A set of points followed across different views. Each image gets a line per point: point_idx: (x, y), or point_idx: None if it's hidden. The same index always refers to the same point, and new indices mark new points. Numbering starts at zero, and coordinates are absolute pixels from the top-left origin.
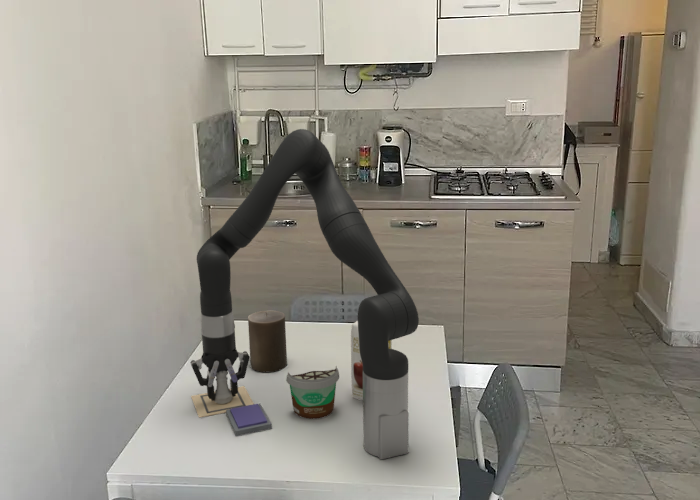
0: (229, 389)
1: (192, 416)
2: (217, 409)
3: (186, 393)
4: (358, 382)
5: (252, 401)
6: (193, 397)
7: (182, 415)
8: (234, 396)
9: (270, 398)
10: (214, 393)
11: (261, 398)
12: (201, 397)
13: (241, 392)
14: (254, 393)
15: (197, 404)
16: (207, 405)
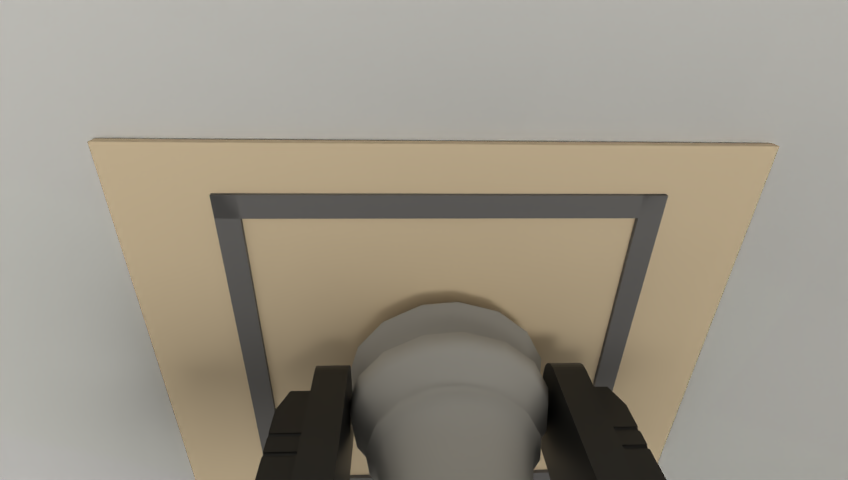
0: (536, 464)
1: (153, 476)
2: (361, 467)
3: (4, 5)
4: None
5: (663, 445)
6: (125, 196)
7: (61, 444)
8: (568, 330)
9: (811, 428)
10: (361, 404)
11: (754, 409)
12: (225, 243)
13: (666, 282)
14: (763, 318)
15: (185, 348)
16: (283, 394)
